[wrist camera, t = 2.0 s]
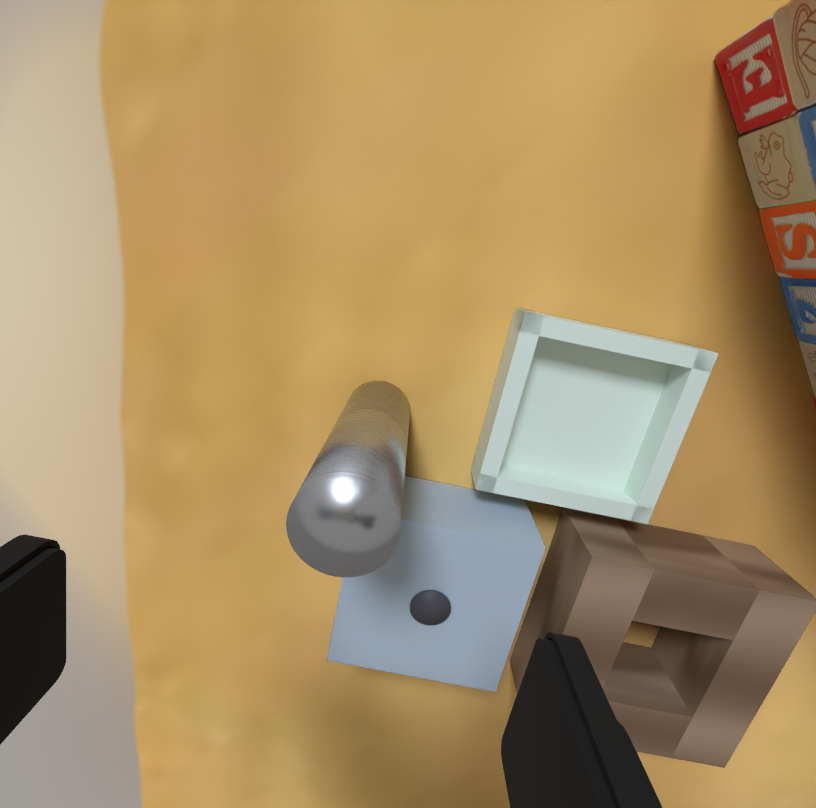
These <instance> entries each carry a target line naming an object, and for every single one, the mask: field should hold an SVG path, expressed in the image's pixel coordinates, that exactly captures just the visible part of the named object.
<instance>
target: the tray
mask: <svg viewBox="0 0 816 808" xmlns="http://www.w3.org/2000/svg"><path fill="white" fill-rule="evenodd" d="M718 354H719V353H715V352H712V351H709V350H705V349H702V348H699V347H695V346H692V345H688V344H683V343H678V342H674V341H669V340H664V339H660V338H655V337H650V336H646V335H641V334H636V333H632V332H627V331H622V330H618V329H613V328H609V327H604V326H599V325H595V324H590V323H585V322H581V321H576V320H571V319H567V318H562V317H557V316H553V315H548V314H543V313H539V312H534V311H529V310H525V309H520V308H515V311H514V314H513V318H512V322H511V325H510V329H509V333H508V336H507V340H506V344H505V347H504V351H503V355H502V358H501V362H500V366H499V369H498V373H497V377H496V380H495V384H494V388H493V391H492V395H491V399H490V402H489V406H488V410H487V413H486V417H485V421H484V424H483V428H482V432H481V435H480V439H479V443H478V446H477V450H476V454H475V457H474V461H473V465H472V468H471V472H472V476H473V481H474V485H475V489H476V490H481V491H486V492H491V493H496V494H500V495H505V496H510V497H515V498H520V499H525V500H530V501H535V502H540V503H545V504H550V505H555V506H560V507H565V508H570V509H575V510H580V511H585V512H590V513H595V514H600V515H605V516H610V517H615V518H620V519H625V520H630V521H634V522H639V523H644V524H648V522H649V519H650V517H651V514H652V512H653V510H654V507H655V505H656V502H657V500H658V498H659V495H660V493H661V490H662V488H663V486H664V483H665V481H666V479H667V476H668V474H669V471H670V469H671V467H672V464H673V462H674V459H675V457H676V455H677V452H678V450H679V447H680V445H681V443H682V440H683V438H684V435H685V433H686V431H687V428H688V426H689V423H690V421H691V419H692V416H693V414H694V411H695V409H696V407H697V404H698V402H699V399H700V397H701V395H702V392H703V390H704V387H705V385H706V383H707V380H708V378H709V375H710V373H711V371H712V368H713V366H714V363H715V361H716V359H717V356H718Z"/></svg>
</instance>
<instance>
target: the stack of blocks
mask: <svg viewBox="0 0 816 808" xmlns="http://www.w3.org/2000/svg"><path fill="white" fill-rule="evenodd" d="M715 59H716V64H717V67H718V69H719V72H720V75H721V79H722V82H723V85H724V88H725V91H726V95H727V98H728V101H729V104H730V107H731V111H732V115H733V118H734V120H735V122H736V128H737V131H738V132H739V133H740V137H739V139H738V144H739V147H740V151H741V154H742V158H743V161H744V165H745V168H746V172H747V175H748V178H749V182H750V185H751V188H752V192H753V195H754V198H755V201H756V204H757V205H758V207H759V209H760V218H761V223H762V226H763V230H764V233H765V237H766V240H767V244H768V248H769V251H770V255H771V258H772V261H773V264H774V268H775V272H776V274H777V275H778V276H779V277H780V282H781V286H782V289H783V292H784V296H785V299H786V302H787V306H788V309H789V312H790V315H791V319H792V323H793V326H794V330H795V334H796V336H797V337H798V339H799V345H800V348H801V352H802V355H803V358H804V362H805V365H806V369H807V372H808V375H809V378H810V382H811V385H812V389H813V392H814V395H815V399H814V402H815V405H816V0H791V1H790V2H788V3H787V4H785V5H783V6H782V7H780V8H779V9H778V10H777V11H776V12H775V13H774V14H773V16H771V17H769V18H768V19H766V20H765V21H763V22H762V23H760V24H759V25H757V26H755V27H754V28H752V29H751V30H749V31H748V32H746V33H745V34H743V35H742V36H740V37H739V38H737V39H736V40H735V41H733V42H732V43H730V44H729V45H728V46H726V47H725V48H724V49H723V50H721V51H720V52H719V53H718V54H717V55H716V56H715Z"/></svg>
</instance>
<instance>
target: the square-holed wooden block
mask: <svg viewBox="0 0 816 808" xmlns="http://www.w3.org/2000/svg"><path fill="white" fill-rule="evenodd" d="M815 612H816V598H815V597H814V596H813V595H812V594H810V593H809V592H808V591H807V590H806V589H805V588H803V587H802V586H801V585H800V584H799V583H797V582H796V581H795V580H794V579H793V578H792V577H790V576H789V575H788V574H787V573H786V572H785V571H783V570H782V569H781V568H780V567H779V566H777V565H776V564H775V563H774V562H773V561H772V560H770V559H769V558H768V557H767V556H766V555H764V554H763V553H762V552H761V551H760V550H759V549H757V548H756V547H755V546H751V545H746V544H741V543H736V542H731V541H726V540H721V539H716V538H711V537H706V536H701V535H697V534H692V533H687V532H682V531H677V530H672V529H667V528H662V527H657V526H652V525H647V524H642V523H637V522H632V521H627V520H622V519H617V518H612V517H607V516H602V515H597V514H592V513H587V512H582V511H577V510H572V509H567V508H563V511H562V514H561V517H560V519H559V522H558V525H557V528H556V531H555V534H554V537H553V539H552V542H551V545H550V548H549V551H548V554H547V557H546V559H545V562H544V565H543V568H542V571H541V574H540V577H539V580H538V582H537V585H536V588H535V591H534V594H533V597H532V600H531V602H530V605H529V608H528V611H527V614H526V617H525V620H524V622H523V625H522V628H521V631H520V634H519V637H518V640H517V643H516V645H515V648H514V651H513V654H512V657H511V660H510V663H511V668H512V673H513V677H514V682H515V686H516V691H517V694H518V691H519V688H520V685H521V682H522V679H523V677H524V674H525V671H526V668H527V665H528V662H529V659H530V656H531V654H532V651H533V648H534V645H535V642H536V640H537V639H538V638H541V639H544V638H545V636H546V634H547V633H548V632H552V633H558V634H563V635H568V636H574V637H577V638H579V639H580V641H581V642H582V644H583V646H584V649H585V651H586V653H587V655H588V658H589V660H590V662H591V664H592V666H593V669H594V671H595V673H596V675H597V677H598V680H599V682H600V684H601V686H602V688H603V691H604V693H605V695H606V697H607V699H608V702H609V704H610V706H611V708H612V710H613V713H614V715H615V717H616V719H617V721H618V722H619V723H620V724H621V725H622V726H624V728H625V730H626V732H627V733H628V735H629V737H630V739H631V741H632V743H633V746H634V748H635V750H636V751H637V752H642V753H648V754H653V755H659V756H664V757H669V758H675V759H680V760H686V761H691V762H696V763H702V764H707V765H712V766H718V767H723V768H725V766H726V764H727V763H728V761H729V759H730V758H731V756H732V754H733V753H734V751H735V749H736V747H737V746H738V744H739V742H740V741H741V739H742V737H743V735H744V734H745V732H746V730H747V729H748V727H749V725H750V723H751V722H752V720H753V718H754V717H755V715H756V713H757V711H758V710H759V708H760V706H761V705H762V703H763V701H764V699H765V698H766V696H767V694H768V693H769V691H770V689H771V687H772V686H773V684H774V682H775V681H776V679H777V677H778V675H779V674H780V672H781V670H782V669H783V667H784V665H785V663H786V662H787V660H788V658H789V657H790V655H791V653H792V651H793V650H794V648H795V646H796V645H797V643H798V641H799V639H800V638H801V636H802V634H803V633H804V631H805V629H806V627H807V626H808V624H809V622H810V621H811V619H812V617H813V615H814V614H815ZM632 621H636V622H641V623H646V624H651V625H657V626H662V627H661V629H660V631H659V633H658V635H657V637H656V640H655V642H654V644H653V646H652V648H649V647H643V646H638V645H633V644H628V643H623V641H624V639H625V636H626V634H627V632H628V629H629V627H630V625H631V623H632Z"/></svg>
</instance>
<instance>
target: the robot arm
mask: <svg viewBox="0 0 816 808" xmlns="http://www.w3.org/2000/svg"><path fill="white" fill-rule="evenodd" d="M65 663H66V554H65V552H64V551H63V550H60V546H59V544H58V542H57V541H54V540H50V539H45V538H40V537H34V536H29V535H20V536H18V537H16V538H14V539H12V540H11V541H9V542H8V543H6V544H4V545H3V546H1V547H0V744H1V743H2V742H3V741H4V740H5V738H6V737H7V736H8V735H9V734H10V733H11V732H12V730H14V728H15V727H16V726H17V725H18V724H19V723H20V722H21V721H22V719H23V718H24V717H25V716H26V715H27V714H28V713H29V712H30V710H31V709H32V708H33V707H34V706H35V705H36V704H37V703H38V701H39V700H40V699H41V698H42V697H43V696H44V695H45V693H46V692H47V691H48V690H49V689H50V688H51V687H52V686H53V684H54V683H55V682H56V681H57V679H58V678H59V676H60V675H61V673H62V671H63V669H64V666H65ZM501 756H502V763H503V769H504V774H505V780H506V785H507V791H508V797H509V802H510V808H662V806H661V804H660V802H659V799H658V797H657V795H656V793H655V791H654V789H653V787H652V784H651V782H650V780H649V778H648V776H647V774H646V771H645V769H644V767H643V765H642V763H641V761H640V759H639V756H638V754H637V752H636V750H635V748H634V746H633V743H632V741H631V739H630V737H629V735H628V733H627V732H626V730H625V728H624V726H622V725H621V724H620V723H619V722H618V721H617V719H616V717H615V715H614V713H613V710H612V708H611V706H610V704H609V702H608V699H607V697H606V695H605V693H604V691H603V688H602V686H601V684H600V682H599V680H598V677H597V675H596V673H595V671H594V669H593V666H592V664H591V662H590V660H589V658H588V655H587V653H586V651H585V649H584V646H583V644H582V642H581V641H580V639H579V638H577V637H574V636H568V635H563V634H558V633H552V632H548V633H547V634H546V636H545V638H544V639H541V638H538V639H537V640H536V642H535V645H534V648H533V651H532V654H531V656H530V659H529V662H528V665H527V668H526V671H525V674H524V677H523V679H522V682H521V685H520V688H519V691H518V694H517V697H516V699H515V702H514V705H513V708H512V711H511V714H510V717H509V720H508V722H507V725H506V728H505V731H504V734H503V737H502V744H501Z"/></svg>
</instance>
